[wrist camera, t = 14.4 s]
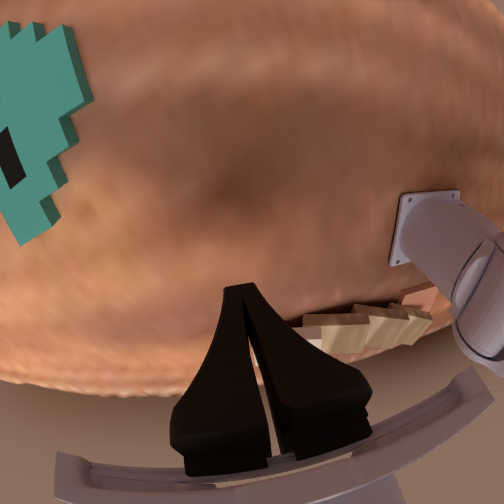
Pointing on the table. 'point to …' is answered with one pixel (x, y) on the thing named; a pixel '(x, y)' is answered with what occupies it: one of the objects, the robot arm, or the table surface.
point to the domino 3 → (418, 297)
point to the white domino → (307, 336)
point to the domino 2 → (383, 325)
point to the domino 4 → (413, 323)
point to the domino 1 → (340, 331)
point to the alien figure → (36, 121)
